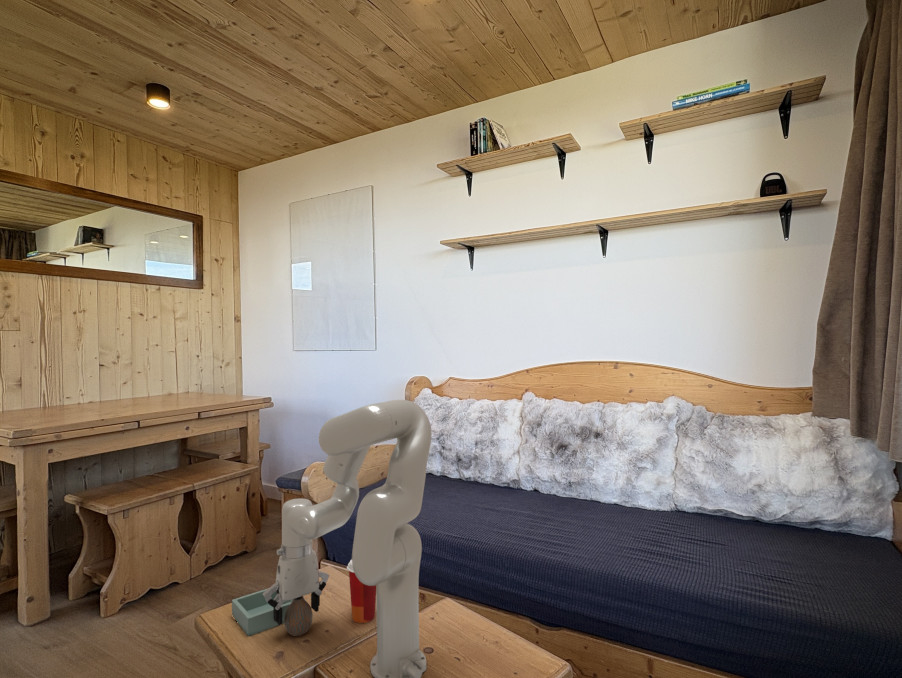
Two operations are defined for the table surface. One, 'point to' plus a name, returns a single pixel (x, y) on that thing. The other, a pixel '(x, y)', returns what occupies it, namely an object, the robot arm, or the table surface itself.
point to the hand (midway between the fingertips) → (297, 616)
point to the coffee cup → (361, 598)
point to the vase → (298, 617)
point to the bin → (256, 612)
